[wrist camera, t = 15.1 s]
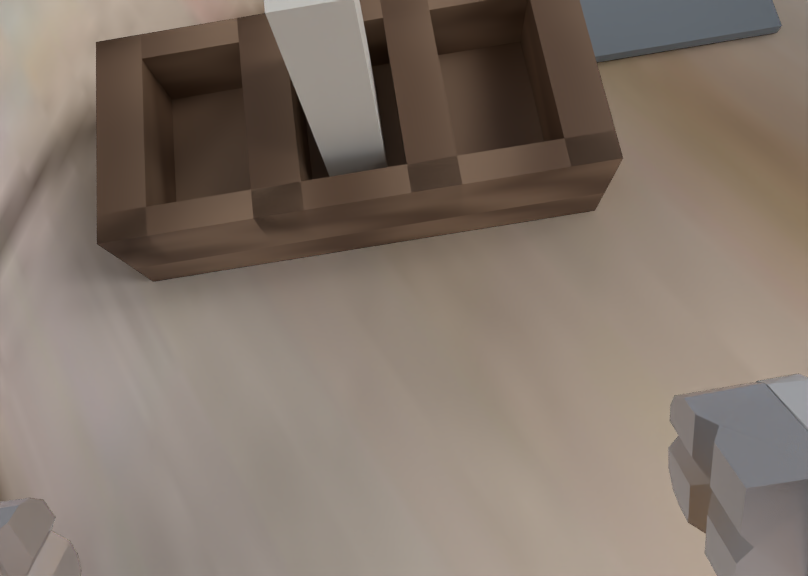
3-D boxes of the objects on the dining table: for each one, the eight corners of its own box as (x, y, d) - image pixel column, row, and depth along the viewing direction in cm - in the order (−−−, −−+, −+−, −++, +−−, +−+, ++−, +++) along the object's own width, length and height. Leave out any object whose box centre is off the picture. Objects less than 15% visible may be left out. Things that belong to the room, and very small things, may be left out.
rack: (551, 38, 26) (569, -39, 22) (594, 210, 24) (623, 158, 20) (147, 105, 26) (96, 41, 22) (153, 281, 24) (96, 244, 20)
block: (375, 83, 24) (333, -138, 15) (389, 179, 23) (353, -3, 14) (322, 92, 24) (251, -123, 15) (334, 188, 23) (265, 13, 14)
